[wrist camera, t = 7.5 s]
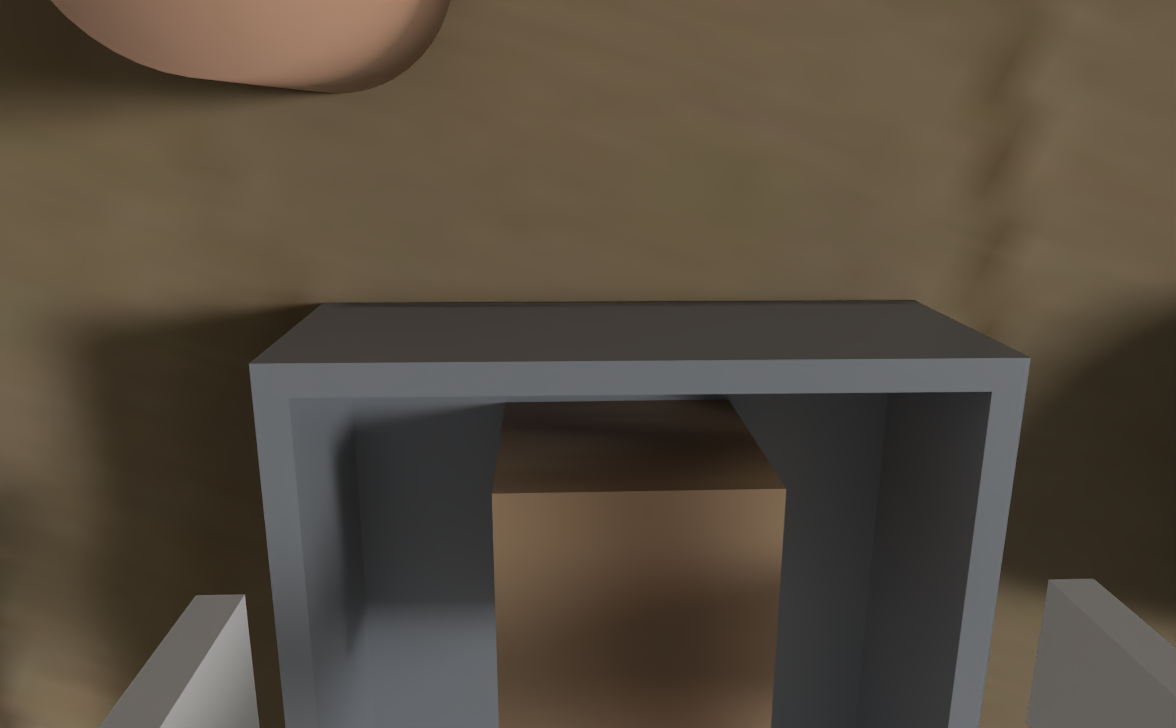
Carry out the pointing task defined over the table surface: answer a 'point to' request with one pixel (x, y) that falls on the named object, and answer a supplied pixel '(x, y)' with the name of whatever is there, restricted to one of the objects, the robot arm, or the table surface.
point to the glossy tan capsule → (267, 38)
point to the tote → (634, 373)
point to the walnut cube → (635, 566)
